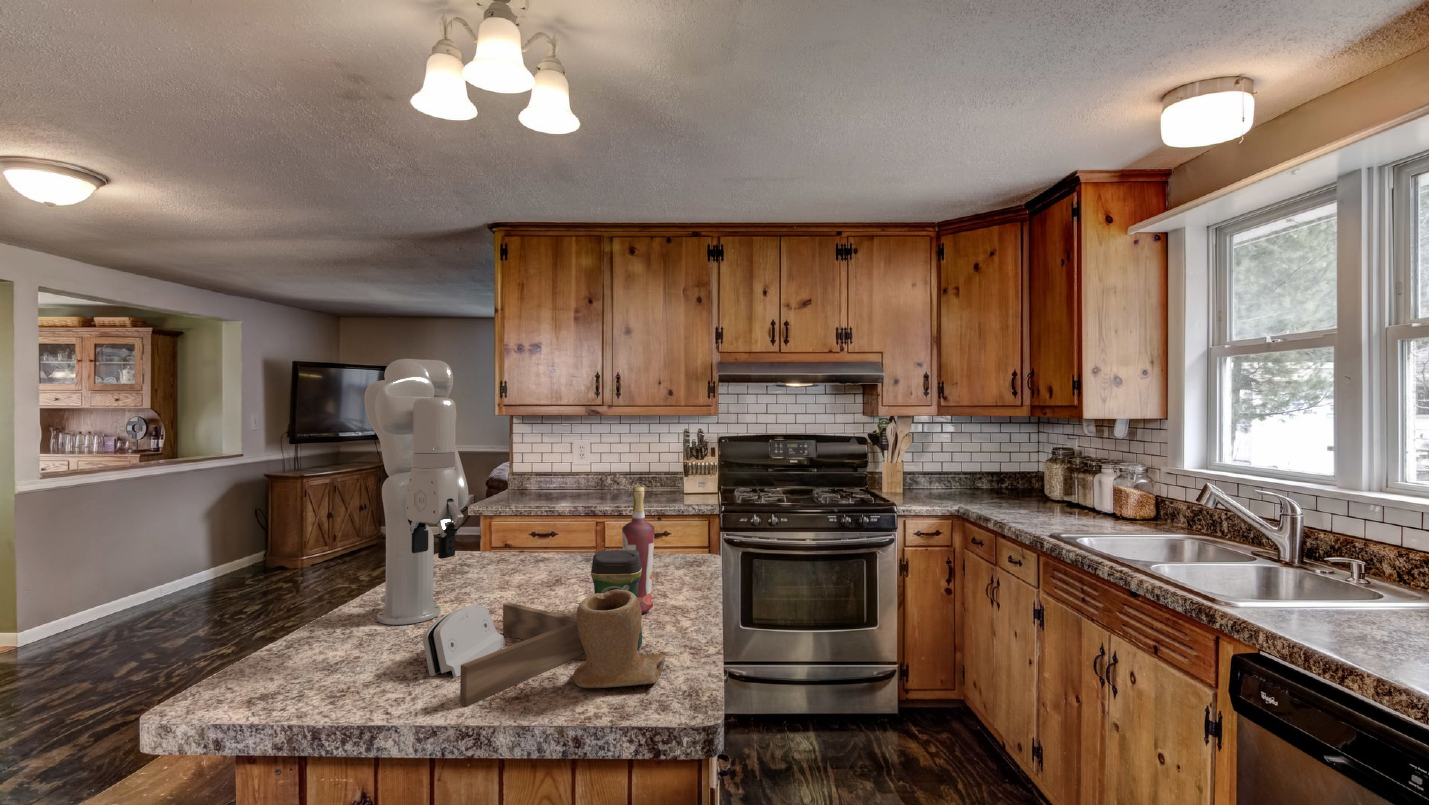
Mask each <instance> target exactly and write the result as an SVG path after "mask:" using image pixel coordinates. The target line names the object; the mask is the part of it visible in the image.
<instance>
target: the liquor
mask: <svg viewBox="0 0 1429 805" xmlns="http://www.w3.org/2000/svg"><path fill="white" fill-rule="evenodd" d="M632 498H633V503H632V504H633V505H632V506H633V507H632V515H631V521H630V522H627V523H626V524H624V525H623V526H622V527H621V532H622V550H637V551H638V552H639V555H640V561H641V567H642V573H641V577H640V580H639V584H638V594H639V603H640V607H641V613H642V614H647V613H648V612H649V611H650V610H651V609H652V608H653V607H654V603H653V600H652V594H653V593H652V589H653V588H652V586H653V566H654V552H655V550H654V549H655V548H654V547H655V531H656V530H655V528H656V527H655V526H654V525H653V524H652V523H651V522H648V521H646V517H645V505H644V504H645V503H644V500H645V486H632Z"/></svg>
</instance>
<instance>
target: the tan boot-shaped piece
mask: <svg viewBox="0 0 1429 805" xmlns="http://www.w3.org/2000/svg"><path fill="white" fill-rule="evenodd" d="M576 618H577V626H578V633H579V637H580V640H581V643H582V645H583V648H584V650H585V653H586V654H585V656H586V657H585V658H586V661H583V662H581V663H580V665H578V666H577V667H576V668H575V670H574V672H573V675H572V676H573V677H572V680H573V682H574V683H575V684H576V685H577V686H578V687H580V688H584V689H602V688H604V689H605V688H607V689H608V688H616V687H617V688H618V687H619V688H620V687H629V686H631V687H632V686H639V685H649V684H650V685H651V684H655V683H656V682H658V680H659V678H660V677H661V675H662V672H663V670H664V666H665V660H666V654H661V653H660V654H639V652H638V650H637V647H638V640H639V634H640V628H641V627H642V618H643V616H642V613H641V607H640V603H639V601H638V598H637V597H636V596H635V595H634V594H633V593H631V592H629V591H626V590H619V589H617V590H611V591H608V592H606V593H596V594H594V593H592V594H591V595H589V596H587V597H585V598H584V599H583V600H582V601H581V602H580V603H579V604H578V606H577V609H576Z"/></svg>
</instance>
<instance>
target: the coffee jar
mask: <svg viewBox="0 0 1429 805" xmlns="http://www.w3.org/2000/svg"><path fill="white" fill-rule="evenodd" d="M591 564H592V565H591V571H590V576H591V580H592V582H593V590H594V591H593V592H594V593H593V594H596V593H606V592H608V591H611V590H617V589H619V590H626V591H629V592H631V593H633V594H634V595H635V596H636V597H637V598H638V601H639V594H638V584H639V580H640V577H641V573H642V567H641V561H640V555H639V552H638V551H637V550H623V549H607V550H598V551H596V552H595V553H594V554H593V558H592V563H591ZM642 628H643V627H642V626H641V628H640V634H639V640H638V647H637V651H638V650H639V649H640V648H641V647H642V644H643V630H642Z"/></svg>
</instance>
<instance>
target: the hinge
mask: <svg viewBox="0 0 1429 805" xmlns="http://www.w3.org/2000/svg"><path fill="white" fill-rule="evenodd" d="M422 643H423V648H424V654H425V658H426V663H427V668H428V674H429V676H430V677H434V676H437V675H438V674H440V673H441V674H444V673H447V672H451V673H452V677H453V678H454V677H457V676H459V677H460V672H461V665H462V664H464V663H467V662H470V661H472V660H475V659H478V658H480V657H483V656H485V655H488V654H491V653H493V652H496V651H497V650H498V649H499V650H501V649H502V648H503V647H502V646H504V645H505V644H506V645H507V643H506V639H505V637H504V634H501V633H499V632H498V631H497V629H496V627H495V624H494V621H493V619H492V617H491V615H490V611H489V609H488V607H487V606H485V605H471V606H465V607H461V608H459V609H455V610H452V611H450V612H448V613H446V614H444V615H443V616H441V617H440V618H438V619H437V620H436V621H434V622H433V623H432V624H431V625H430V627H428V629H427V630H426V631H425V632H424V634H423V635H422ZM506 645H505V646H506ZM505 646H504V647H505ZM501 647H502V648H501ZM500 648H501V649H500ZM499 650H498V651H499ZM457 678H458V677H457Z"/></svg>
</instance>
